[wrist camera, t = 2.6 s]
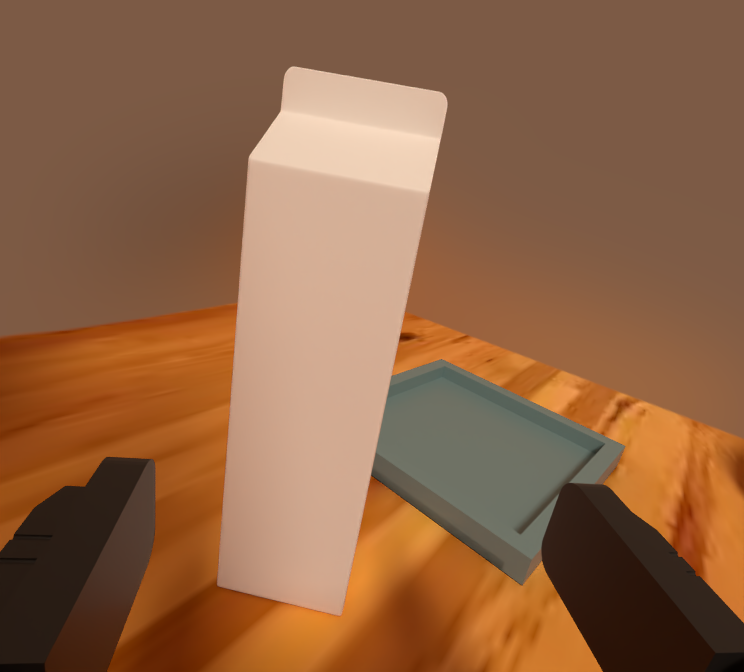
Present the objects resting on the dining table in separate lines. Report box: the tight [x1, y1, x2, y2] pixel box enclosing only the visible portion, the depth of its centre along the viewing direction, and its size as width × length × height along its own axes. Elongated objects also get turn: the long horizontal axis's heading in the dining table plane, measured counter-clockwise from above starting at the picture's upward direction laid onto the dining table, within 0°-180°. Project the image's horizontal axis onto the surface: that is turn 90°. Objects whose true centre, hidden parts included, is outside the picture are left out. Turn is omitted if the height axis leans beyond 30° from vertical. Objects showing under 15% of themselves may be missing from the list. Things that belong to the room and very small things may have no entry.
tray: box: [371, 359, 625, 585], centre depth 36 cm, size 18×18×2 cm
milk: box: [217, 67, 447, 616], centre depth 20 cm, size 6×6×22 cm
